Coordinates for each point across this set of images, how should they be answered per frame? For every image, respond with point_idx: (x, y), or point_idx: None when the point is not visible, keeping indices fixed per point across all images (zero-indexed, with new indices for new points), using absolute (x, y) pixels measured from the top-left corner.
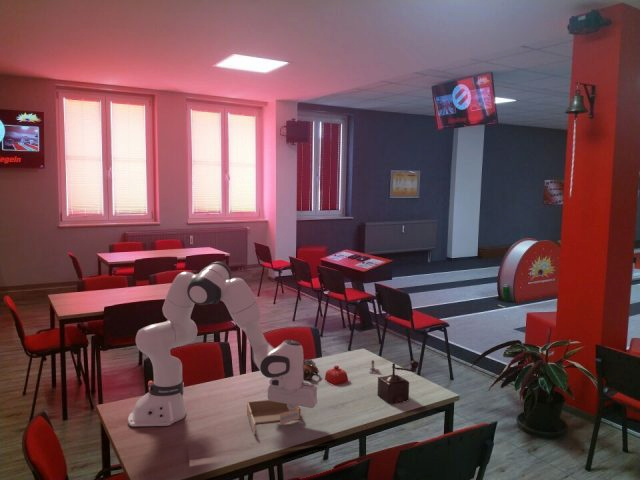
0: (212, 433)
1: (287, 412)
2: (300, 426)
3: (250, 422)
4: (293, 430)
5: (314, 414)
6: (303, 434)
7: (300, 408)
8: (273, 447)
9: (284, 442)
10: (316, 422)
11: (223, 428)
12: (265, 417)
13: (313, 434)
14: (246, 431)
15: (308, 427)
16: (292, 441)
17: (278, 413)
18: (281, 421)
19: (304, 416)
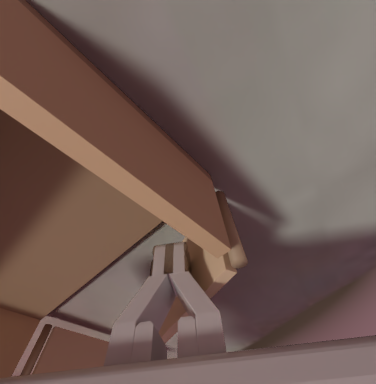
0: (19, 368)
1: (176, 329)
2: (254, 240)
3: (44, 334)
4: (237, 277)
5: (304, 2)
6: (294, 280)
7: (246, 261)
8: (226, 348)
9: (244, 329)
10: (346, 156)
11: None
12: (28, 272)
13: (342, 264)
14: None
15: (303, 230)
16: (268, 318)
17: (29, 204)
18: None
19: (221, 113)
